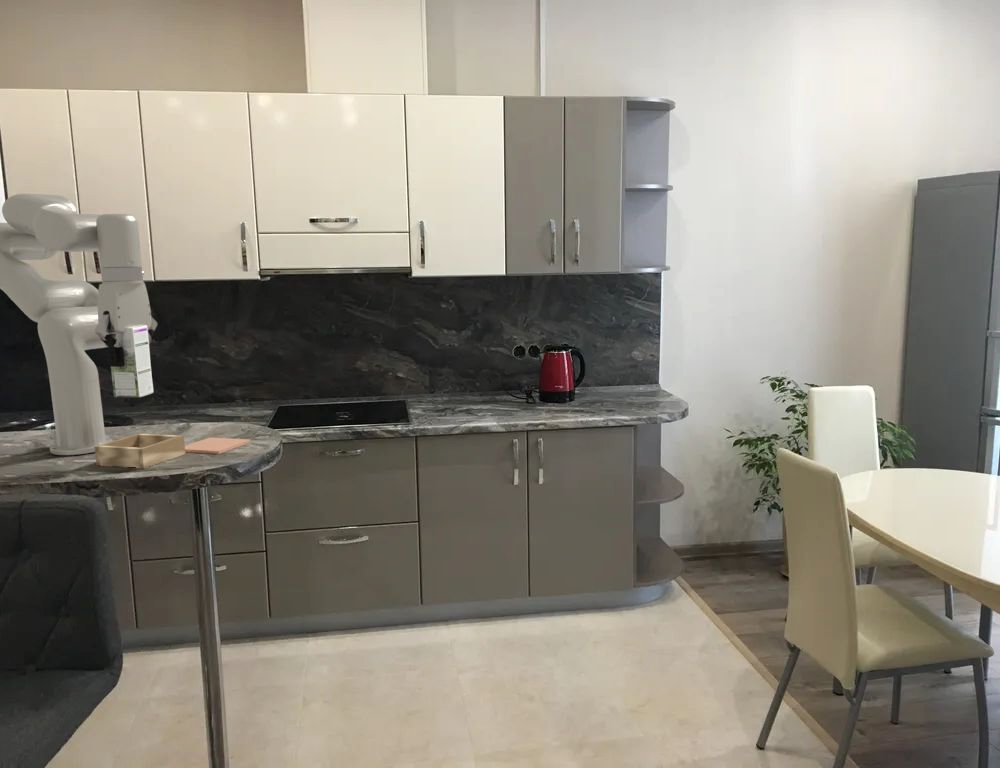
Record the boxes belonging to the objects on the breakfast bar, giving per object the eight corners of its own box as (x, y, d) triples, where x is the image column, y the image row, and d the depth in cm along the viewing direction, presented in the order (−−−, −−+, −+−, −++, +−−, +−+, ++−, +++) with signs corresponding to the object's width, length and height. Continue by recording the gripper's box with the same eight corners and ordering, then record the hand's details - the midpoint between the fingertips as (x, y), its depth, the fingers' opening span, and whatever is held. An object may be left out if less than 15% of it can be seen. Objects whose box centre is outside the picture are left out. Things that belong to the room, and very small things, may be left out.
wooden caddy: (96, 465, 157) (94, 446, 156) (140, 451, 168) (138, 433, 168) (144, 468, 153) (142, 449, 153) (185, 453, 165) (183, 435, 164)
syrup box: (154, 392, 162) (148, 324, 159) (139, 397, 156) (132, 326, 153) (129, 392, 162) (122, 324, 160) (112, 397, 156) (105, 326, 154)
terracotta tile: (176, 451, 167) (176, 448, 167) (209, 440, 178) (209, 437, 177) (219, 453, 164) (218, 451, 164) (250, 442, 174) (250, 439, 174)
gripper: (139, 275, 164) (147, 358, 167) (72, 277, 148) (82, 369, 151) (168, 275, 162) (175, 359, 165) (103, 277, 146) (112, 370, 149)
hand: (130, 363), depth 158 cm, fingers closed on syrup box, 6 cm apart
